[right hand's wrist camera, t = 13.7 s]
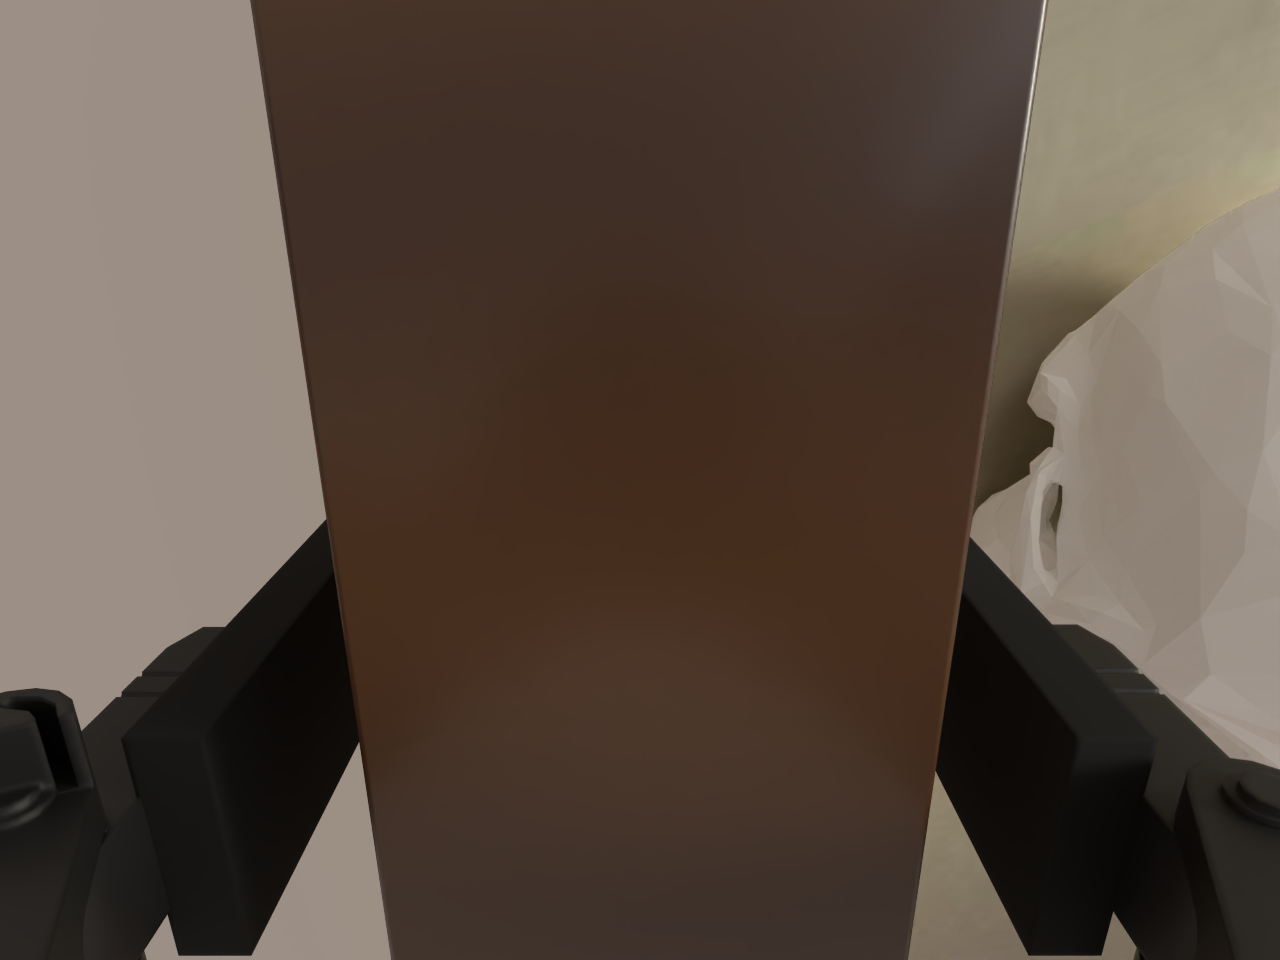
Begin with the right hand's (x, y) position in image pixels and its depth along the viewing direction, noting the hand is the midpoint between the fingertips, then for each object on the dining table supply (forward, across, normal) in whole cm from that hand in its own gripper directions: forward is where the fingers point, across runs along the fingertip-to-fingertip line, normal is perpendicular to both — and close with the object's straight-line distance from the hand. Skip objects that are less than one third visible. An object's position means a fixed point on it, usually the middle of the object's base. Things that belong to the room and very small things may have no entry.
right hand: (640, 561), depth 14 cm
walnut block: (+1, 0, +12) cm, 12 cm away
